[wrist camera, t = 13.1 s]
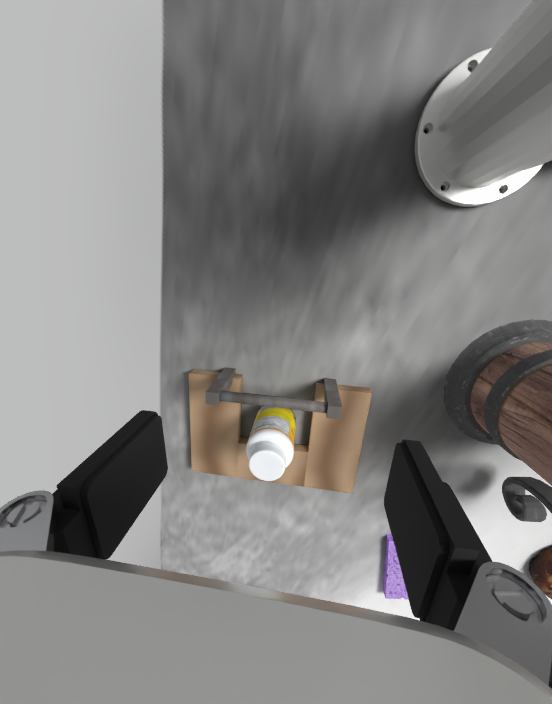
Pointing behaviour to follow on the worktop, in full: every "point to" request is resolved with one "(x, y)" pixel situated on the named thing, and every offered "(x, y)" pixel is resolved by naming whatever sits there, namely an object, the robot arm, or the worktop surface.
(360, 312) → the worktop surface
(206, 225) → the worktop surface
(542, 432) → the tankard
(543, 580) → the bread roll
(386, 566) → the sponges
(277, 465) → the supplement bottle
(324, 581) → the worktop surface
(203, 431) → the shelf board
